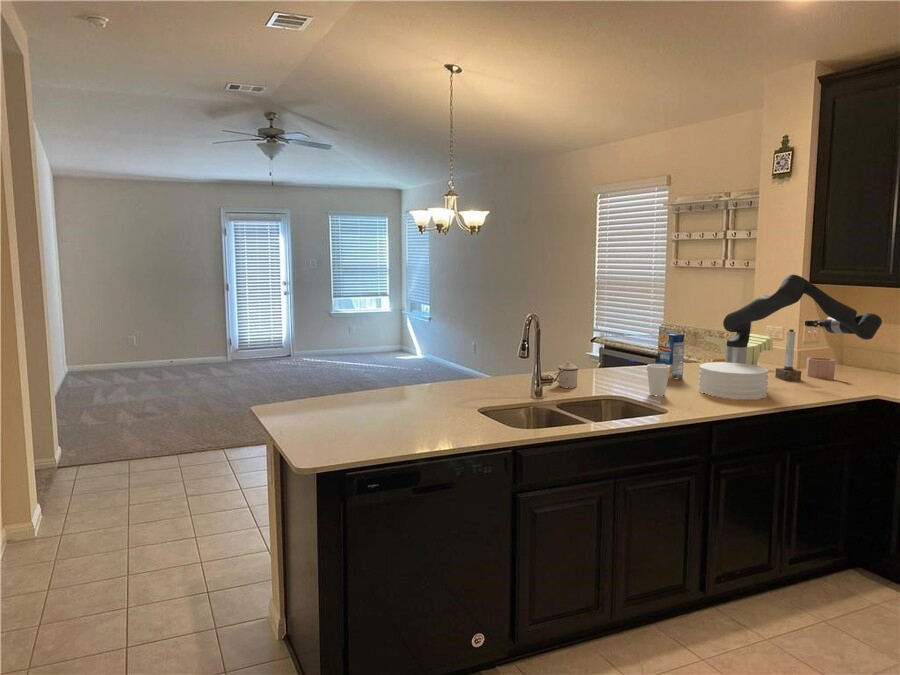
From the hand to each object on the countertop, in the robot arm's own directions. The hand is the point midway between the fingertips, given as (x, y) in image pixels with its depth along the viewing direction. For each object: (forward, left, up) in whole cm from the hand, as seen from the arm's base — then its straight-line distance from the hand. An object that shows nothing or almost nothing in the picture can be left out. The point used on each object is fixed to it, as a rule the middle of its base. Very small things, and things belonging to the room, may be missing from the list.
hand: (814, 323), depth 287 cm
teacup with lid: (-106, -36, -30) cm, 116 cm away
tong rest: (-7, +14, -30) cm, 34 cm away
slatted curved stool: (-27, +43, -30) cm, 60 cm away
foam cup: (-65, -39, -30) cm, 82 cm away
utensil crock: (+9, +28, -30) cm, 42 cm away
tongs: (-7, +14, -29) cm, 33 cm away
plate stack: (-34, -22, -31) cm, 51 cm away
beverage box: (-61, +6, -30) cm, 69 cm away
